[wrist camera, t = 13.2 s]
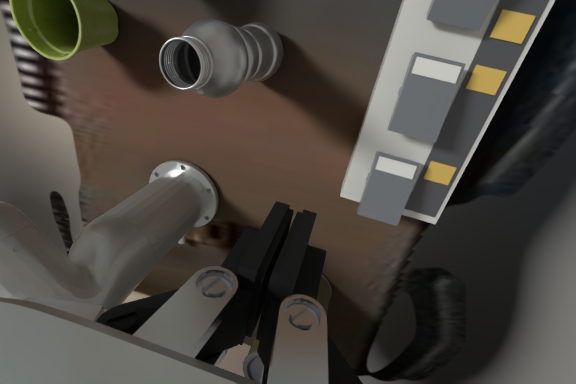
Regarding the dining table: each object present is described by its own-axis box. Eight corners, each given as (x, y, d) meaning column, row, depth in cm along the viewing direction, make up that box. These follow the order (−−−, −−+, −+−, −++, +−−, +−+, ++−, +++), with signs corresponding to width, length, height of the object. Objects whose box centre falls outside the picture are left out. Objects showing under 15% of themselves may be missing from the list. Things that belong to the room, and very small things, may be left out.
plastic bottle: (297, 44, 39) (237, 51, 21) (269, 89, 42) (197, 126, 25) (256, 11, 38) (160, -10, 21) (230, 59, 42) (129, 75, 24)
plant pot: (94, -38, 40) (30, -55, 33) (143, 29, 42) (94, 27, 35) (60, 11, 44) (-4, 6, 37) (106, 69, 47) (55, 76, 39)
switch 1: (395, 222, 39) (397, 226, 38) (356, 210, 40) (357, 214, 38) (417, 162, 37) (420, 163, 36) (376, 150, 38) (378, 152, 36)
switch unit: (430, 209, 44) (436, 228, 40) (342, 184, 46) (339, 199, 41) (561, -47, 30) (593, -62, 25) (426, -73, 31) (434, -90, 27)
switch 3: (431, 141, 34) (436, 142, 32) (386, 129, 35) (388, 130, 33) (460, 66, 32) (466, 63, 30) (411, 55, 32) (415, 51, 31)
